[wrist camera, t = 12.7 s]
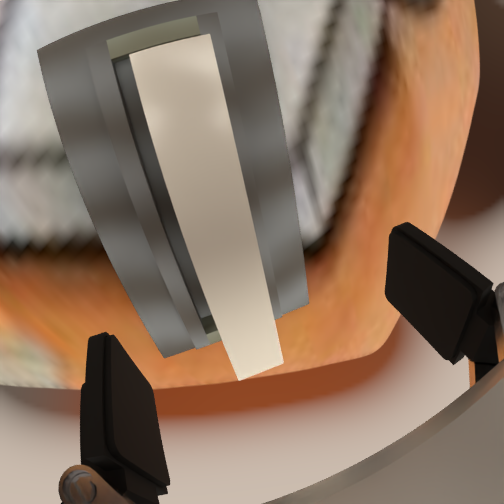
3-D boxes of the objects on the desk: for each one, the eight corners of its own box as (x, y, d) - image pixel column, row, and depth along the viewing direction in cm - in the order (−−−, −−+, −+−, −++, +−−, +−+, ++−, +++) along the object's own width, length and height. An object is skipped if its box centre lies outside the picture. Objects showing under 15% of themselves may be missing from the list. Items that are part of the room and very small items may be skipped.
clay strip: (135, 71, 15) (129, 54, 9) (183, 57, 16) (210, 33, 9) (209, 305, 25) (238, 380, 18) (244, 292, 26) (283, 363, 19)
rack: (41, 51, 13) (26, 46, 11) (249, -7, 16) (265, -20, 13) (162, 350, 27) (167, 374, 25) (304, 297, 29) (319, 316, 27)
